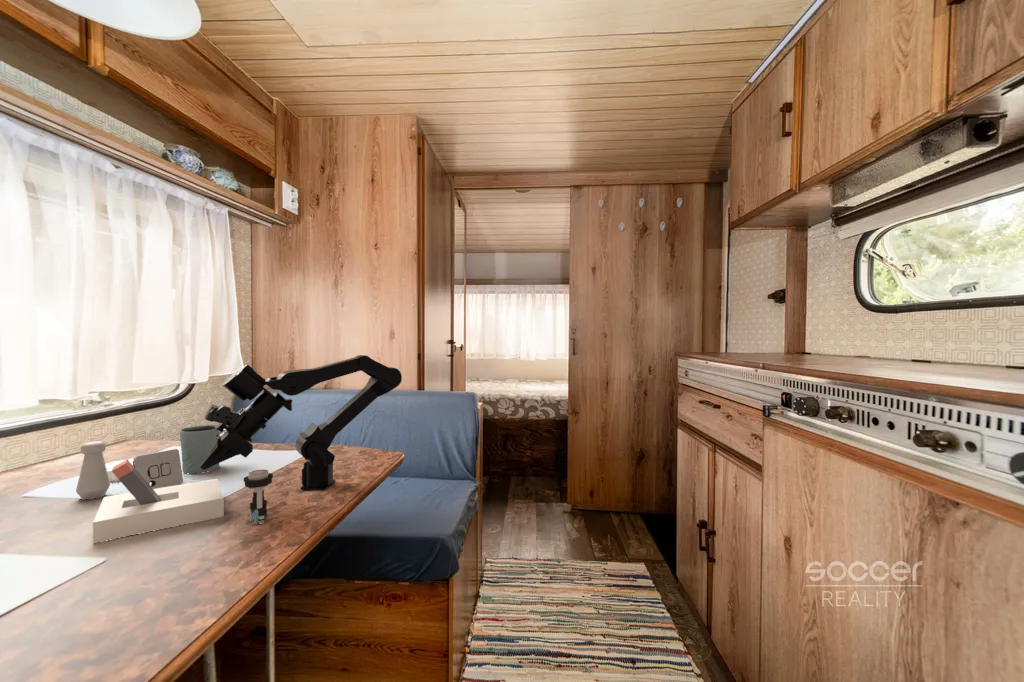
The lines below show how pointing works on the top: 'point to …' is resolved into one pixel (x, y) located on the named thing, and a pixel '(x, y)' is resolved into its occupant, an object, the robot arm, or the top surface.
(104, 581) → the top surface
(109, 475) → the mooncake
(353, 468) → the top surface
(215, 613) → the top surface
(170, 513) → the box
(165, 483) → the electrical switch
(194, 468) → the green cup
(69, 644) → the top surface
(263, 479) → the push button
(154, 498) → the lever
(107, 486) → the salt shaker
